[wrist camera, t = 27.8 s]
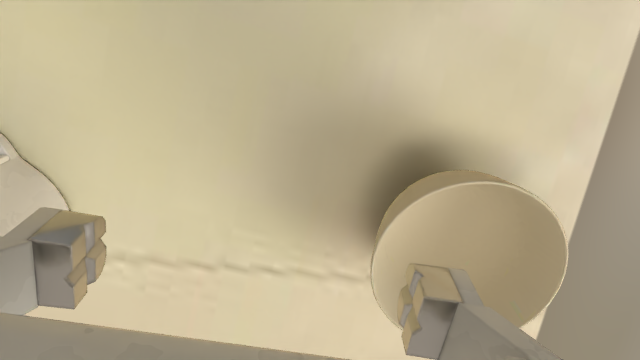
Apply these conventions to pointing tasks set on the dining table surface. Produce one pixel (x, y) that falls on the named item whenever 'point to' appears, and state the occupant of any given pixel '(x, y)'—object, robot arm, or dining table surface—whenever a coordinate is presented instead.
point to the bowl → (473, 242)
